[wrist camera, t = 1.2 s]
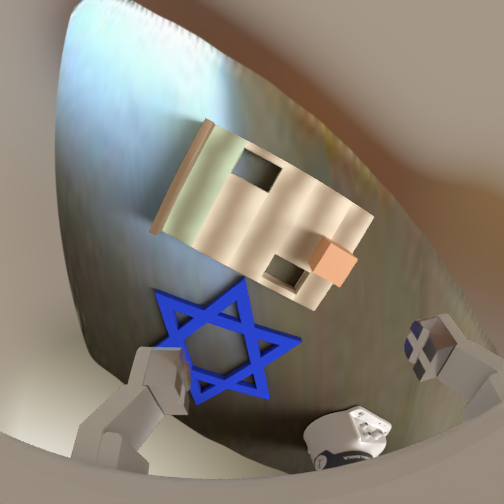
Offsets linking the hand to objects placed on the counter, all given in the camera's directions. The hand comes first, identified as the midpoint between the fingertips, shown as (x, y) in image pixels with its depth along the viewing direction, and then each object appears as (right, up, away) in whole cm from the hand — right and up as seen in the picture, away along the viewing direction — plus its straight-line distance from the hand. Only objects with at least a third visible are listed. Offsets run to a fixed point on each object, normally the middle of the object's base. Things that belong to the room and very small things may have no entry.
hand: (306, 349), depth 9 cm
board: (+1, +8, +34) cm, 35 cm away
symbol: (-8, -14, +41) cm, 44 cm away
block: (+9, +3, +32) cm, 34 cm away
